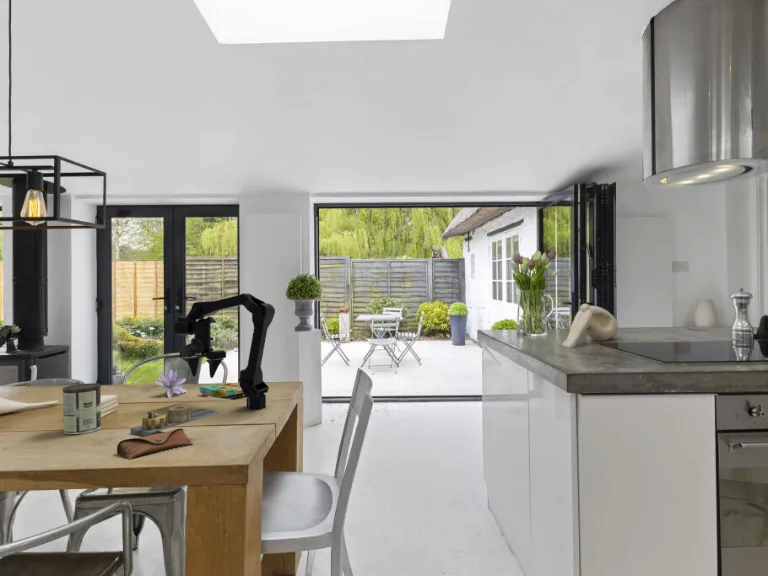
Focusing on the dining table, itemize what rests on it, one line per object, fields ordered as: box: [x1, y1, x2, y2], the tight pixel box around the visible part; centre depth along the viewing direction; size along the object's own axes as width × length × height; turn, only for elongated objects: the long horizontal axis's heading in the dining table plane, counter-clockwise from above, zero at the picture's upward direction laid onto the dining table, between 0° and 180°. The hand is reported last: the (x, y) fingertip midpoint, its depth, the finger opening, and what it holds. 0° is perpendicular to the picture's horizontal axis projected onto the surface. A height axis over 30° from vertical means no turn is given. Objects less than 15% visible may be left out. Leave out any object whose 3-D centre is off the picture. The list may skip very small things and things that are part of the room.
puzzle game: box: [198, 382, 244, 400], centre depth 196 cm, size 12×5×20 cm
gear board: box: [130, 408, 222, 437], centre depth 153 cm, size 10×27×6 cm, turn 151°
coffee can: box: [62, 382, 102, 435], centre depth 148 cm, size 10×10×14 cm
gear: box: [166, 404, 192, 423], centre depth 153 cm, size 7×7×4 cm
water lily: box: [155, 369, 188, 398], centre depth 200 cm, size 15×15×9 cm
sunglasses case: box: [116, 428, 194, 461], centre depth 129 cm, size 18×7×7 cm
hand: (202, 376), depth 173 cm, fingers open, 9 cm apart
